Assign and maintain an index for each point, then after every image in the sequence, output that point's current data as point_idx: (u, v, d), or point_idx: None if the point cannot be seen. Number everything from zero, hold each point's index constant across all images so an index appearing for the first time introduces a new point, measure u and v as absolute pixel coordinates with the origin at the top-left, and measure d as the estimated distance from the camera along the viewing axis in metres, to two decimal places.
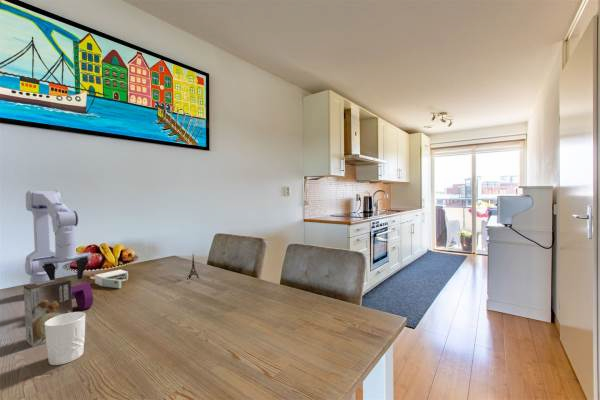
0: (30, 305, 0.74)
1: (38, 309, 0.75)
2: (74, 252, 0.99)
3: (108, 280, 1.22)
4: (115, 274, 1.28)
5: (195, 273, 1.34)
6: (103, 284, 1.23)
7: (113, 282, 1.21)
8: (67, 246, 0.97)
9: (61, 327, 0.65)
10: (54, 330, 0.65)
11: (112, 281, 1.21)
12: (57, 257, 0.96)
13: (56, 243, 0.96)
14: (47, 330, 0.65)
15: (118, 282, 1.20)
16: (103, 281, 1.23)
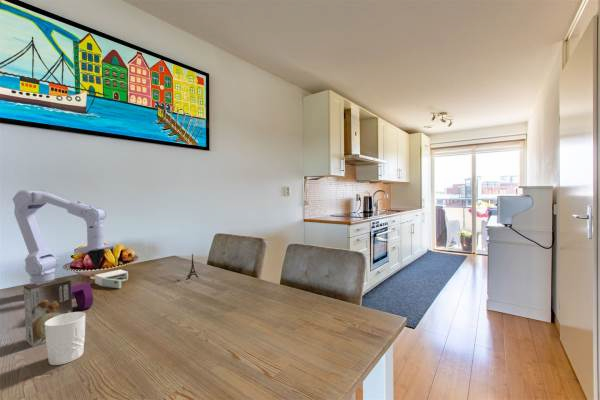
0: (30, 305, 0.74)
1: (38, 309, 0.75)
2: (102, 243, 1.17)
3: (108, 280, 1.22)
4: (115, 274, 1.28)
5: (194, 273, 1.34)
6: (103, 284, 1.23)
7: (113, 282, 1.21)
8: (97, 237, 1.15)
9: (61, 327, 0.65)
10: (54, 330, 0.65)
11: (112, 281, 1.21)
12: (89, 247, 1.14)
13: (93, 235, 1.14)
14: (47, 330, 0.65)
15: (118, 282, 1.20)
16: (103, 281, 1.23)
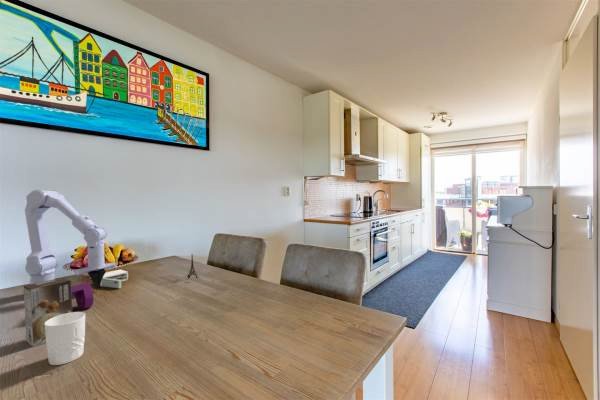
0: (30, 305, 0.74)
1: (38, 309, 0.75)
2: (103, 262, 1.17)
3: (108, 280, 1.22)
4: (115, 274, 1.28)
5: (194, 273, 1.34)
6: (103, 284, 1.23)
7: (113, 282, 1.21)
8: (98, 258, 1.15)
9: (61, 327, 0.65)
10: (54, 330, 0.65)
11: (112, 281, 1.21)
12: (90, 267, 1.14)
13: (93, 255, 1.14)
14: (47, 330, 0.65)
15: (118, 282, 1.20)
16: (103, 281, 1.23)
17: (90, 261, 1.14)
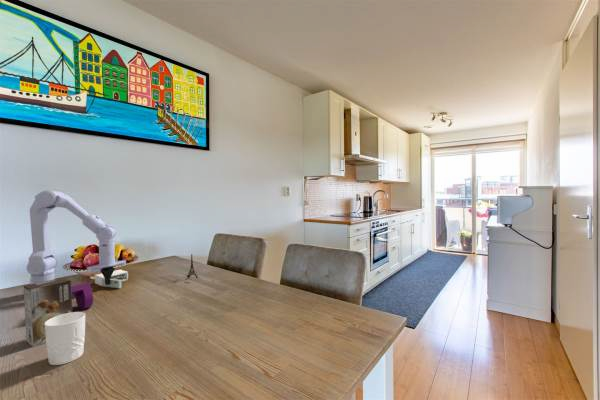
0: (30, 305, 0.74)
1: (38, 309, 0.75)
2: (114, 260, 1.21)
3: None
4: (115, 274, 1.28)
5: (194, 273, 1.34)
6: (103, 284, 1.23)
7: (113, 282, 1.21)
8: (109, 255, 1.19)
9: (61, 327, 0.65)
10: (54, 330, 0.65)
11: (112, 281, 1.21)
12: (101, 264, 1.18)
13: (106, 253, 1.18)
14: (47, 330, 0.65)
15: (118, 282, 1.20)
16: (103, 281, 1.23)
17: (101, 259, 1.18)
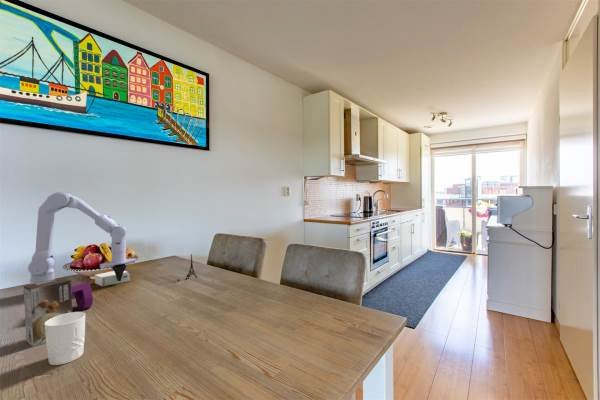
0: (30, 305, 0.74)
1: (38, 309, 0.75)
2: (125, 258, 1.26)
3: (113, 277, 1.26)
4: (115, 274, 1.28)
5: (193, 273, 1.34)
6: (105, 283, 1.24)
7: None
8: (120, 253, 1.24)
9: (61, 327, 0.65)
10: (54, 330, 0.65)
11: None
12: (113, 262, 1.23)
13: (119, 250, 1.24)
14: (47, 330, 0.65)
15: (128, 275, 1.30)
16: (105, 280, 1.24)
17: (113, 256, 1.23)
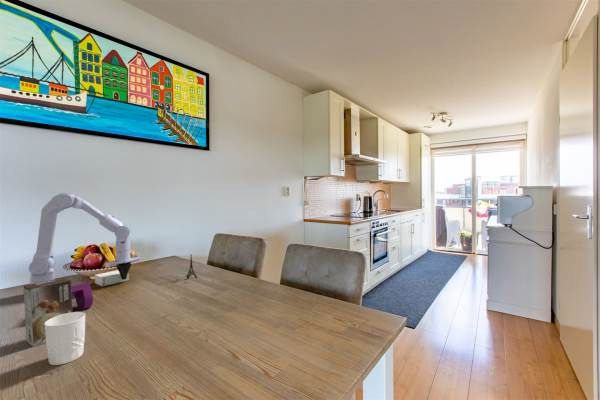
0: (30, 305, 0.74)
1: (38, 309, 0.75)
2: (129, 256, 1.29)
3: (113, 277, 1.26)
4: (115, 274, 1.28)
5: (193, 273, 1.34)
6: (105, 283, 1.24)
7: None
8: (125, 252, 1.26)
9: (61, 327, 0.65)
10: (54, 330, 0.65)
11: (119, 276, 1.28)
12: (118, 260, 1.25)
13: (124, 249, 1.26)
14: (47, 330, 0.65)
15: (127, 275, 1.31)
16: (105, 280, 1.24)
17: (118, 255, 1.25)
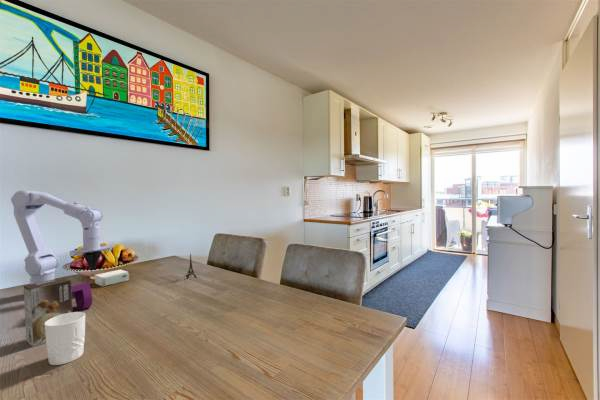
0: (30, 305, 0.74)
1: (38, 309, 0.75)
2: (98, 244, 1.16)
3: (113, 277, 1.26)
4: (115, 274, 1.28)
5: (193, 273, 1.34)
6: (105, 283, 1.24)
7: (121, 277, 1.29)
8: (93, 239, 1.13)
9: (61, 327, 0.65)
10: (54, 330, 0.65)
11: (119, 276, 1.28)
12: (85, 248, 1.12)
13: (88, 236, 1.12)
14: (47, 330, 0.65)
15: (127, 275, 1.31)
16: (105, 280, 1.24)
17: (85, 242, 1.12)
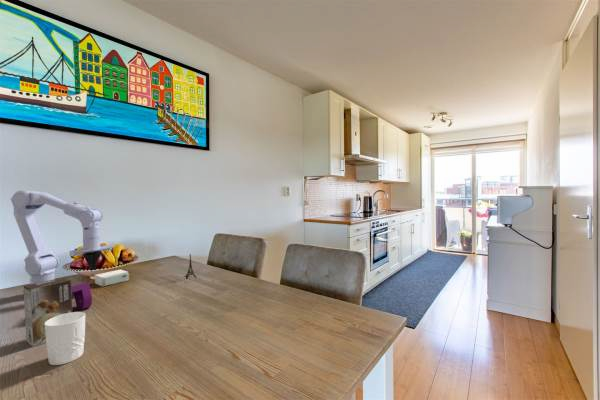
0: (30, 305, 0.74)
1: (38, 309, 0.75)
2: (98, 244, 1.16)
3: (113, 277, 1.26)
4: (115, 274, 1.28)
5: (192, 273, 1.34)
6: (105, 283, 1.24)
7: (121, 277, 1.29)
8: (93, 239, 1.13)
9: (61, 327, 0.65)
10: (54, 330, 0.65)
11: (119, 276, 1.28)
12: (85, 248, 1.12)
13: (88, 236, 1.12)
14: (47, 330, 0.65)
15: (127, 275, 1.31)
16: (105, 280, 1.24)
17: (85, 242, 1.12)
